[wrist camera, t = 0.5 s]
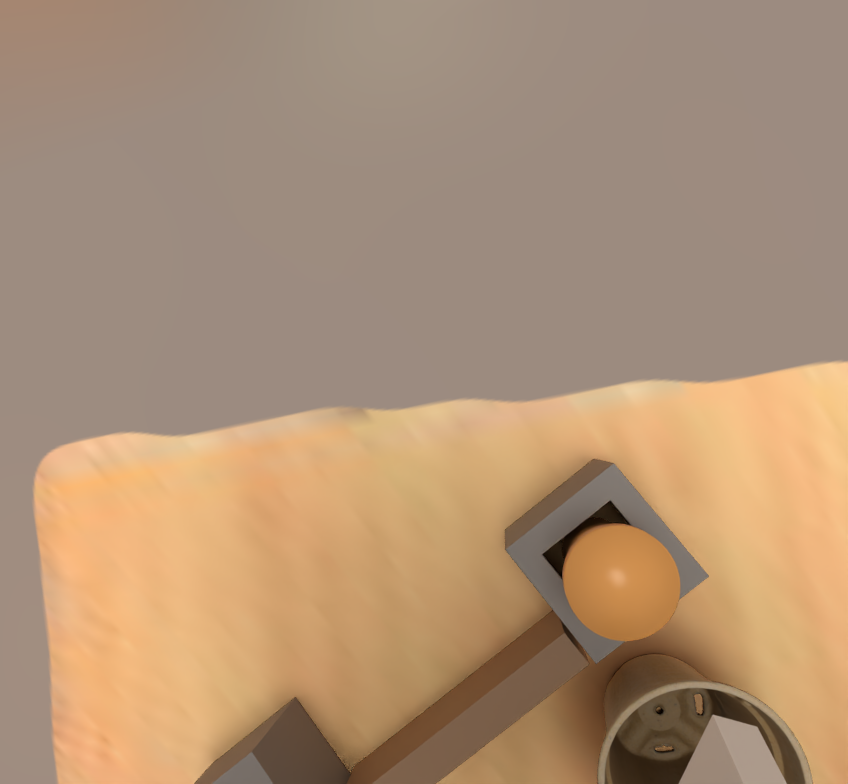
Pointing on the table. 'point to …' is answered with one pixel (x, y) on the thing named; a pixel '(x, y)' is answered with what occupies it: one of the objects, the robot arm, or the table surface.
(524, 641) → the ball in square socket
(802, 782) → the flower pot
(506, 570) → the table surface
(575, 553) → the button
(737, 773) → the robot arm
